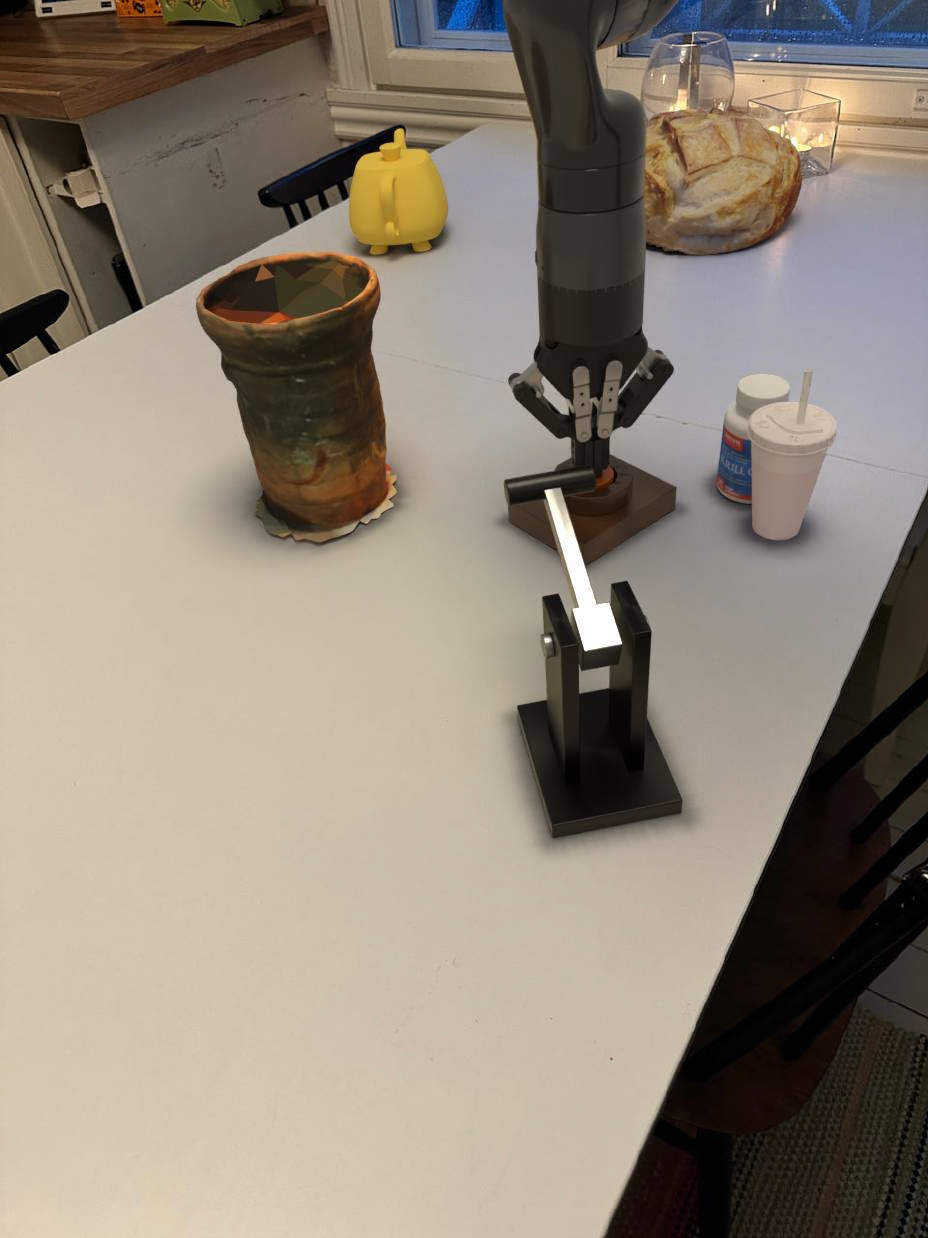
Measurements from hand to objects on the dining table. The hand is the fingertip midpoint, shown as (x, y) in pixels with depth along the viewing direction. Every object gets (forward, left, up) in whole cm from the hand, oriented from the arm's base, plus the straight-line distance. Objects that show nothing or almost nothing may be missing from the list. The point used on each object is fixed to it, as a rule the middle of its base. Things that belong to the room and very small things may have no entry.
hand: (590, 472), depth 76 cm
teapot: (-30, -67, -4) cm, 74 cm away
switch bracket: (+19, +19, -4) cm, 27 cm away
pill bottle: (-12, +7, -4) cm, 15 cm away
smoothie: (-9, +12, -4) cm, 16 cm away
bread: (-58, -38, -4) cm, 70 cm away
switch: (+16, +14, +7) cm, 23 cm away
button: (0, 0, -2) cm, 2 cm away
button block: (0, 0, -4) cm, 4 cm away
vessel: (+14, -19, -4) cm, 24 cm away
